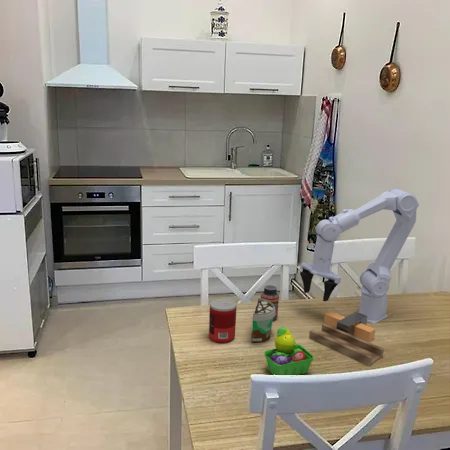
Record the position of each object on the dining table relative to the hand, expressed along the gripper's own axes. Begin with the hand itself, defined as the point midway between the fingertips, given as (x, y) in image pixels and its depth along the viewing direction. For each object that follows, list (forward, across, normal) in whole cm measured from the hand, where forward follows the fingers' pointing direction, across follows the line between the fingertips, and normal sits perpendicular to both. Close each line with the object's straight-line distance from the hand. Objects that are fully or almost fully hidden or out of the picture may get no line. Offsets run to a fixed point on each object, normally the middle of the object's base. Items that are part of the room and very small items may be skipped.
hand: (315, 296), depth 153 cm
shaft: (+7, +13, +1) cm, 15 cm away
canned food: (+10, -10, -32) cm, 35 cm away
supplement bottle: (+9, -9, -12) cm, 18 cm away
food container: (+10, -2, -22) cm, 24 cm away
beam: (+7, +14, +1) cm, 16 cm away
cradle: (+8, +18, -9) cm, 22 cm away
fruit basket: (+9, +14, -31) cm, 35 cm away
